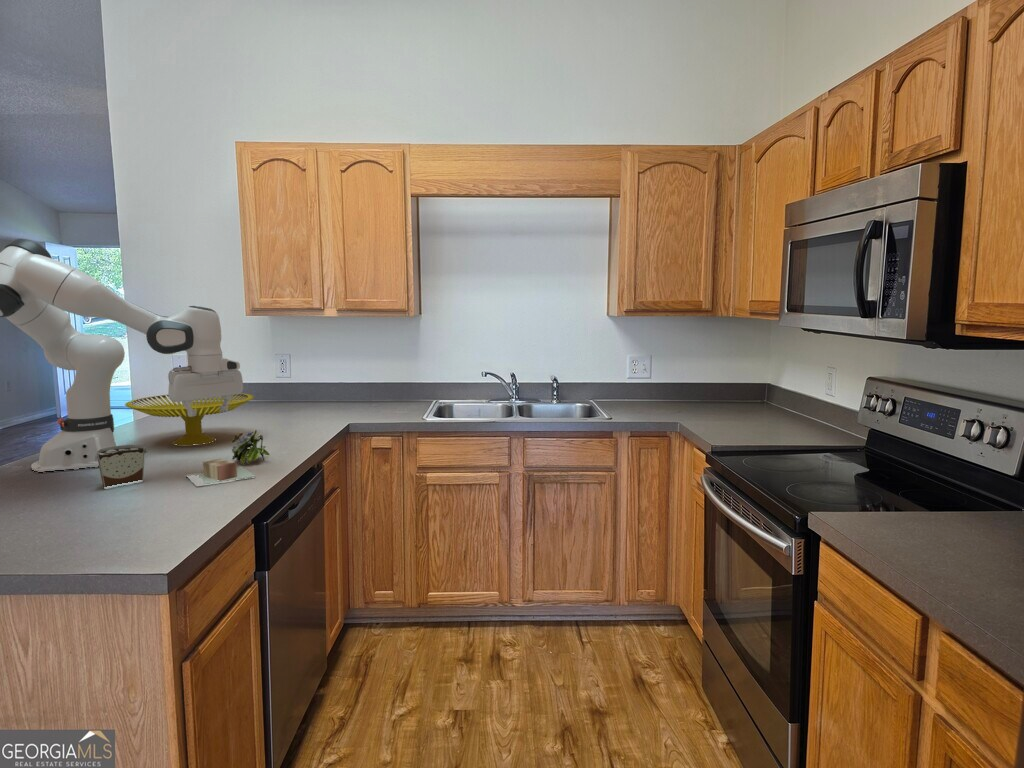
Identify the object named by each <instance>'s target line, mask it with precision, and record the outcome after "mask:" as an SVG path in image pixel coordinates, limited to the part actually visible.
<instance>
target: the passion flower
mask: <svg viewBox="0 0 1024 768" xmlns="http://www.w3.org/2000/svg"><path fill="white" fill-rule="evenodd" d="M243 434H244V433H243V432H239V433H238V434H237V435H234V438H233V439H232V440H231V443H235V442H236V441H237V440H238V441H237V443H236V444H234V446H232V449H231V452H232V453H233V455H232V458H231V459H232V460H235V461H237V460H240V459H241V460H240V465H242V466H243V465H244V466H245V463H247V464H250V463H251V462H252V461H254V462H255V461H257V460H258V459H259V457H260V456H261V457H262V460H263V461H265V456H270V453H269V452H268V451H267V450H266V448H267V446H266V445H263V440H264V436H263V435H262V434H261V433H259V434H258V435H257V438H256V437H255V436H256V434H257V429H255V430H254V431H251V432H248V434H246V435H245V436H243ZM242 436H243V438H240V437H242ZM260 440H261V444H260V447H257V445H258V443H259V442H260ZM264 455H265V456H264Z"/></svg>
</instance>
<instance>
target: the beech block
mask: <svg viewBox="0 0 1024 768" xmlns="http://www.w3.org/2000/svg"><path fill="white" fill-rule="evenodd" d="M236 468H237V462H235V461H231V460H227V459H223V458H217V459H212V460H208V461H203V462H202V469H203V472H202V473H204V477H208V478H212V479H215V480H219V481H221V480H226V479H230V478H234V477H237V469H236Z"/></svg>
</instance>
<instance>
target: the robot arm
mask: <svg viewBox="0 0 1024 768" xmlns="http://www.w3.org/2000/svg"><path fill="white" fill-rule="evenodd" d="M69 313H70V314H74V315H76V316H81V317H84V318H97V319H98V318H99V319H105V320H110V321H114V322H117V323H120V324H121V325H124V326H127V327H128V328H130V329H133V330H135V331H137V332H140V333H142V334H144V335H146V341H147V344H148V346H149V347H150V348H151V349H152V350H153V351H155V352H157V353H158V354H159V353H160V354H162V355H172V354H173V355H174V354H176V353H180V352H186V355H187V356H186V357H187V358H186V359H187V366H177V367H173V369H170V371H169V372H168V374H167V375H168V376H167V379H168V394H167V395H168V396H169V397H168V396H167V397H168V400H169V401H170V402H172V401H173V402H175V403H177V402H180V403H182V402H183V405H184V407H185V408H186V409H187V412H188V416H189V417H193V416H196V410H193V409H192V408H191V406H190V405H191V404H192V400H193V401H195V400H198V401H199V400H200V399H203V400H205V399H206V398H208V399H210V398H212V399H214V398H215V397H217V398H219V397H221V396H222V397H221V398H222V399H224V400H223V401H224V402H223V404H222V405H220V411H221V412H223V413H227V412H226V411H228V405H229V403H230V401H231V400H232V399H231V397H232V396H233V395H236V396H237V395H238V394H241V393H243V391H244V383H243V382H244V381H243V376H242V373H241V371H240V368H241V363H240V362H239V361H235V360H231V359H228V358H225V357H224V358H223V350H222V348H221V342H222V328H221V321H220V317H219V314H218V313H217V312H216V311H215V310H214V309H212V308H208V307H204V306H196V305H189V306H187V307H186V308H185V309H183V310H182V311H179V312H177V313H175V314H173V315H171V316H170V315H169V316H165V315H159V314H157V313H154V312H152V311H149V310H147V309H145V308H143V307H141V306H139V305H137V304H135V303H133V302H131V301H128V300H126V299H124V298H123V297H122V296H120V295H119V294H117V293H116V292H114V291H113V290H111V289H110V288H108V286H106V285H104V284H103V283H101V282H100V281H99V280H97V279H95V278H94V277H93V276H91V275H89V274H88V273H85V272H84V271H82V270H81V269H78V268H76V267H74V266H71V265H69V264H67V263H65V262H63V261H60V260H57V259H54V258H52V256H51V253H50V252H49V251H48V249H46V248H45V247H44V246H43V245H41V244H39V243H38V242H36V241H34V240H31V239H27V238H17V239H14V240H13V241H11V242H9V243H8V244H7V245H5V247H4V249H3V250H2V251H0V318H5V319H7V320H8V321H9V322H10V323H12V324H13V325H14V326H16V327H17V328H18V329H20V330H21V331H22V332H23V333H25V334H26V335H27V336H29V337H30V338H32V339H33V341H35V342H36V343H37V344H38V345H39V346H40V348H41V349H42V350H43V354H44V357H45V360H46V362H48V363H49V364H51V365H52V366H54V367H57V368H59V369H62V370H65V371H75V376H74V380H73V384H71V386H70V387H68V389H66V393H65V399H66V409H67V410H66V412H67V417H65V418H63V417H61V418H58V419H57V424H58V426H59V427H60V431H59V432H58V433H57V434H56V435H54V436H53V437H51V438H50V439H49V440H48V441H46V442H45V443H44V444H43V445H42V446H41V448H40V451H39V457H38V459H39V460H36V461H34V462H33V463H31V465H30V469H31V468H32V470H34V471H38V472H43V471H54V470H64V471H66V470H65V469H74V470H80V469H79V468H85V469H87V468H86V467H95V468H98V467H97V466H99V463H98V458H97V461H95V455H96V453H97V451H98V450H100V449H103V448H108V447H113V446H117V444H116V441H115V434H114V432H115V421H114V416H113V414H112V411H111V408H112V407H111V395H110V394H111V384H112V380H113V377H114V374H115V372H116V370H117V369H118V368H119V367H120V366H121V365H122V363H123V362H124V360H125V354H126V353H125V352H126V351H125V348H124V346H123V344H122V343H121V342H120V341H119V340H118V339H116V338H114V337H110V336H108V335H103V334H87V333H86V334H85V333H82V332H80V331H78V330H77V329H75V328H74V326H73V325H72V324H71V317H70V315H69ZM231 395H232V396H231ZM241 395H242V394H241ZM173 402H172V403H173ZM228 412H229V411H228ZM32 470H31V471H32ZM34 471H33V472H34ZM38 472H37V473H38ZM54 472H55V471H54ZM43 473H44V472H43Z"/></svg>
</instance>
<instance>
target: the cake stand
mask: <svg viewBox="0 0 1024 768" xmlns="http://www.w3.org/2000/svg"><path fill="white" fill-rule="evenodd" d="M254 398H255V396H254V395H253V394H250V393H243V392H242V393H241V394H237V395H231V401H230V403H229V405H228V411H226V412H225V413H228V412H230V411H233V410H235V409H237V408H238V407H240V406H242V405H245V404H246V403H248V402H250V401H251V400H253V399H254ZM194 401H195V402H194ZM223 402H224V399H223V396H221V397H214V398H206V399H198V400H192V404H190V406H191V408H192V409H193V410H196V416H193V417H189V416H188V412H187V409H186V408H185V407H184V405H183V402H173V401H171V400H170V399H169V396H168V394H161V395H153V396H148V397H142V398H136V399H133V400H130V401H127V402H125V404H124V406H125V407H127V408H129V409H132V410H134V411H138V412H141V413H142V414H146V415H149V416H152V417H159V418H160V417H161V418H171V417H172V418H175V417H176V418H179V417H181V419H182V420H183V421H184V425H185V426H184V427H185V434H184V435H182V436H181V437H179V438H177V439H175V440H174V441H172V442H173V444H177V445H193V444H203V443H209V442H212V441H215V439H216V437H212V436H210V435H207V434H205V433H203V429H202V420H203V418H204V417H205V416H209V415H216V414H222V413H224V412H221V411H220V405H222V404H223ZM215 442H216V441H215ZM173 444H172V445H173ZM209 444H210V443H209Z"/></svg>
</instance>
